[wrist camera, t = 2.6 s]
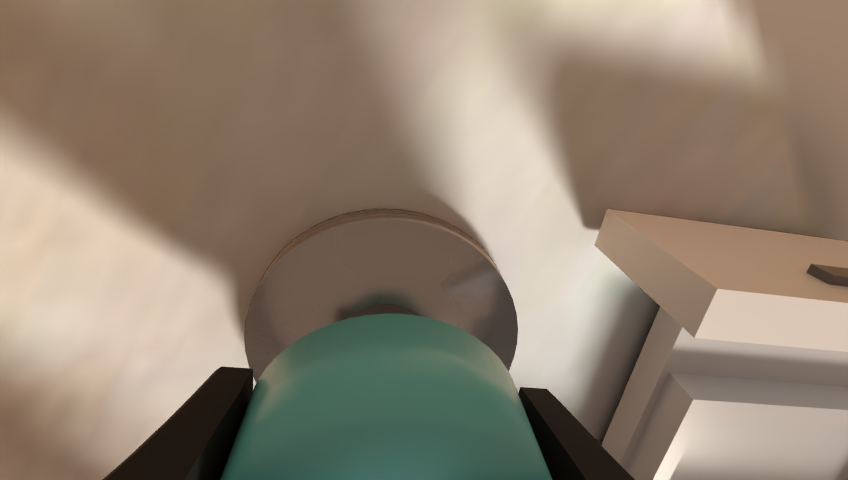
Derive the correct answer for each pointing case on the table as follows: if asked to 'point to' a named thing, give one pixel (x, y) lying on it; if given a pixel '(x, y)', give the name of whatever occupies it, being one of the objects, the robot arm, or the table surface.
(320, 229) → the spindle stand
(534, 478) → the teal rounded disc
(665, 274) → the drawer
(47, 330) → the table surface
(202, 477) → the robot arm
